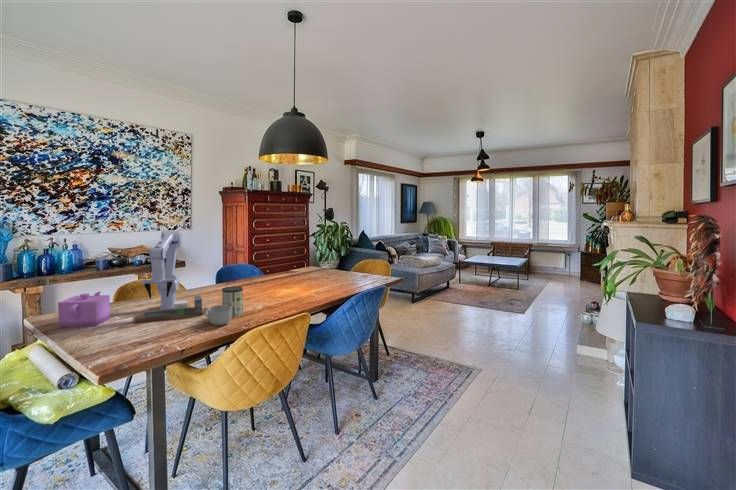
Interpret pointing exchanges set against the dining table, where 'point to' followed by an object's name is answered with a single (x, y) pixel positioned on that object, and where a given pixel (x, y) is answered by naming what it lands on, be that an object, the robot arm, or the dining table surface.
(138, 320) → the gauge base
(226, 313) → the teacup
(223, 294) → the coffee can
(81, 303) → the purple box
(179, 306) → the gauge slider
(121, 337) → the dining table surface
